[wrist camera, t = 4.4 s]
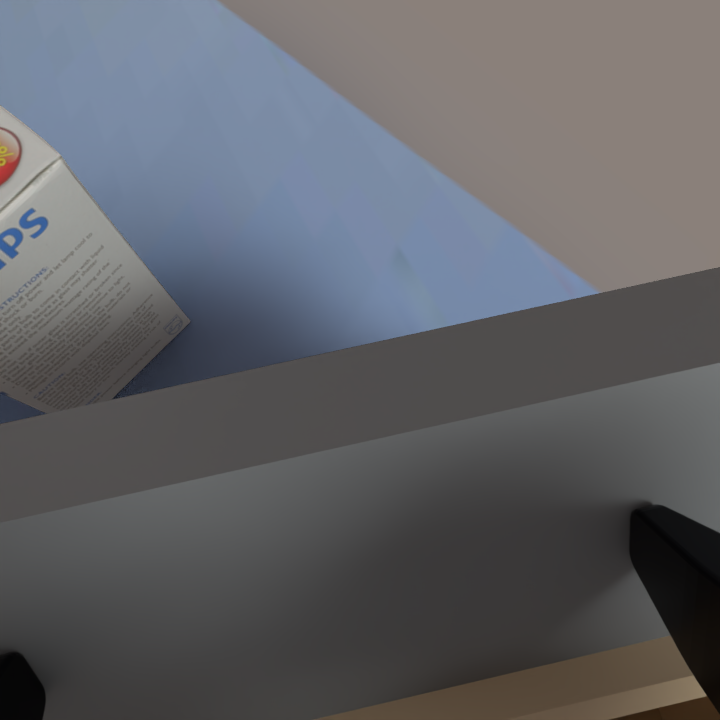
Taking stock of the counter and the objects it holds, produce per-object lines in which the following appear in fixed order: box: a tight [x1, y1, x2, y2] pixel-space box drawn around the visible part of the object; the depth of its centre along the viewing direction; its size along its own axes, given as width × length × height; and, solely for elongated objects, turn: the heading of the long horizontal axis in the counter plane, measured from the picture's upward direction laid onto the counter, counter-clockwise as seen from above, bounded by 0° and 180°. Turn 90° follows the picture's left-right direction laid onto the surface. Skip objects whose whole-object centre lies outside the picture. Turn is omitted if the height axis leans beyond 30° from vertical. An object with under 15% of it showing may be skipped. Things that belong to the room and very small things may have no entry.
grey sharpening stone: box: [0, 267, 720, 720], centre depth 11 cm, size 7×18×6 cm
